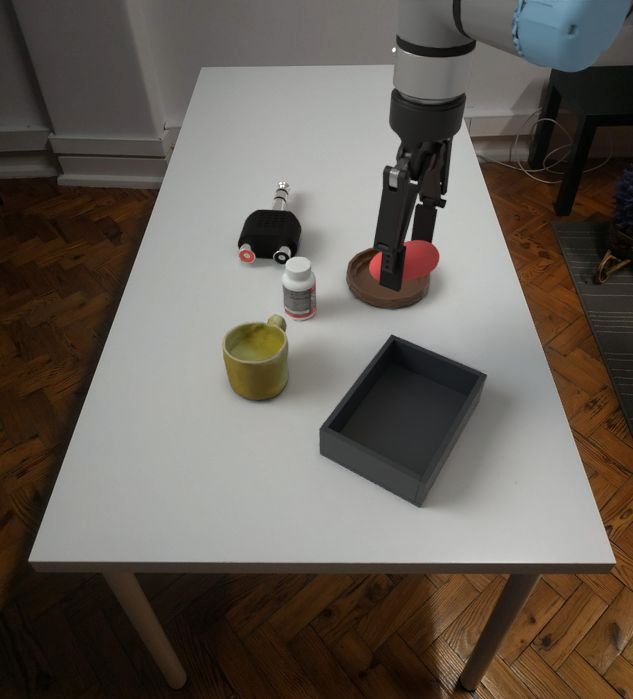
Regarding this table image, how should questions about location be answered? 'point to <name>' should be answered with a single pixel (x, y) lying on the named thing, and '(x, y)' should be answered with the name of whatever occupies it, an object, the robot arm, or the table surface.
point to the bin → (402, 418)
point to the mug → (257, 358)
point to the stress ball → (412, 260)
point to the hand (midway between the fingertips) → (405, 267)
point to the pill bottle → (299, 289)
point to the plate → (376, 294)
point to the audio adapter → (271, 231)
